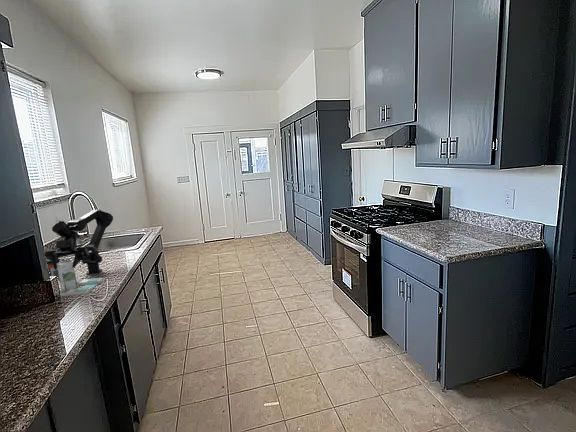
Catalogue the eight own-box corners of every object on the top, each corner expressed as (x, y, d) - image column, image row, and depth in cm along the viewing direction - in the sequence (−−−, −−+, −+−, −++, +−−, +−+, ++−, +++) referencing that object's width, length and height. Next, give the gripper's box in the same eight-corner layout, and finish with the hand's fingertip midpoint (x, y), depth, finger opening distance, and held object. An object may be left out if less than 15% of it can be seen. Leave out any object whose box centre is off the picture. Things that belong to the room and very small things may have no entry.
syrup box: (74, 286, 174) (68, 259, 171) (78, 288, 170) (72, 261, 167) (61, 290, 169) (55, 262, 167) (65, 292, 166) (59, 264, 163)
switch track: (69, 283, 178) (68, 280, 177) (102, 280, 179) (102, 277, 179) (50, 297, 161) (50, 293, 161) (87, 293, 163) (87, 290, 162)
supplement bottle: (43, 280, 185) (39, 261, 183) (54, 276, 190) (50, 257, 188) (51, 281, 183) (47, 262, 181) (61, 277, 188) (57, 258, 186)
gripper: (42, 235, 167) (35, 263, 158) (83, 231, 170) (78, 258, 161) (52, 246, 176) (46, 273, 167) (91, 242, 179) (87, 268, 170)
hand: (64, 268), depth 166 cm, fingers closed on syrup box, 8 cm apart
